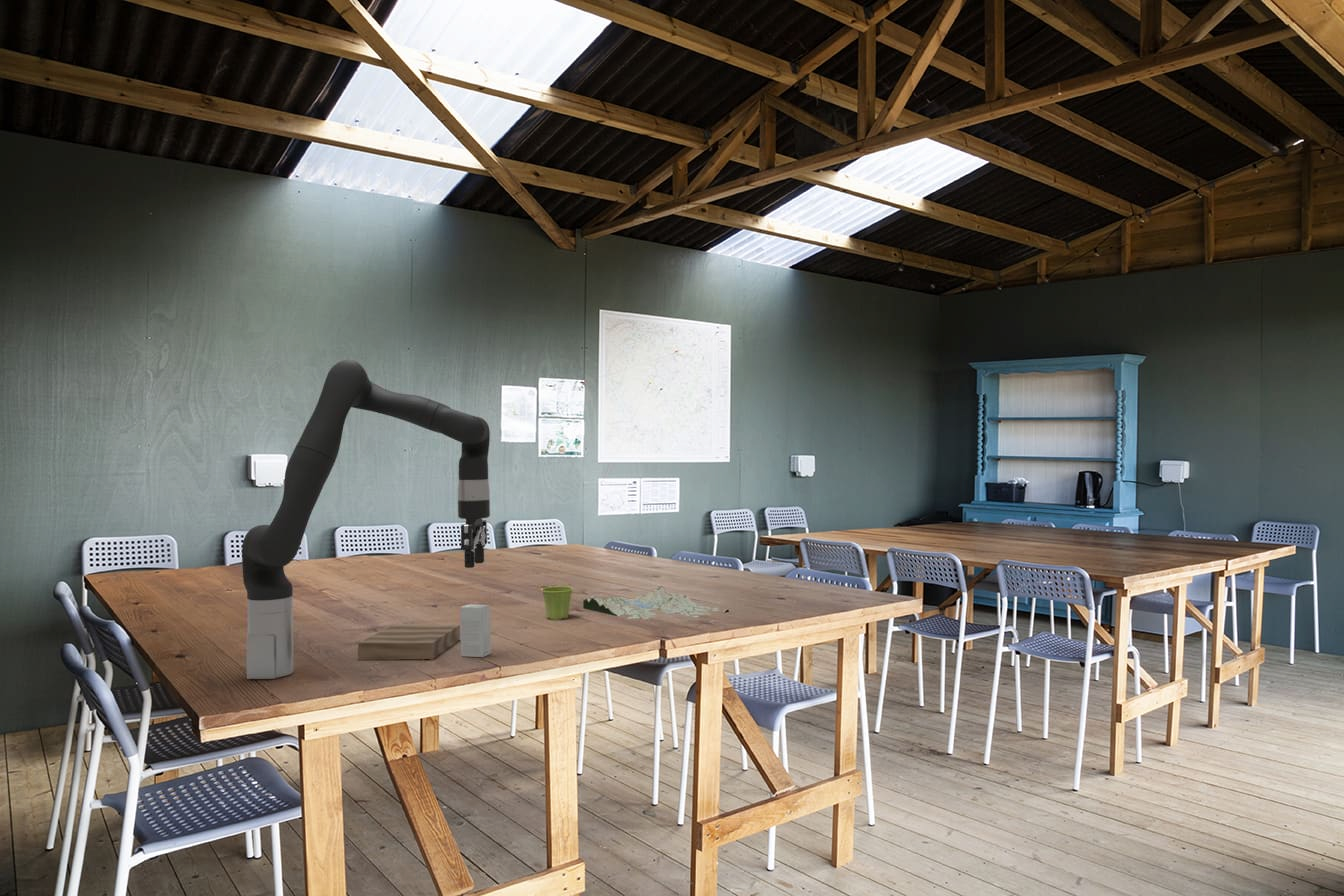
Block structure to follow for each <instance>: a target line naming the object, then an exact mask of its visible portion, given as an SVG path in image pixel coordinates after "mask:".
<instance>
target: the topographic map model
mask: <svg viewBox="0 0 1344 896" xmlns="http://www.w3.org/2000/svg"><path fill="white" fill-rule="evenodd" d="M582 602H583V604H582V606H583V607H582V608H583V609H585V610H587V611H588V610H589V611H592V612H593V611H594V612H597V613H602V614H606V615H610V616H615V617H620V616H621V615H629V616H626V619H627V620H628V619H642V620H643V621H644V620H652V619H655V618H657V616H656V613H655V611H657V613H658V612H662V613H666V614H675V613H679V614H680V615H683V616H687V617H691V618H692V617H693V618H700V617H701V616H700V615H702V616H704V615H708V616H709V615H712V614H710V613H708V612H709V611H712V612H713V611H714V612H719V611H721V609H720V608H719V607H714V608H713V607H710V606H709V605H708V606H705V605H701V604H698V603H697V602H694V601H692V600H691V598H690V596H688V595H686V594H682V595H679V594H678V592H676V591H675V592H674V593H673V594H672V595H670V594H668V593H667V591H666V589H665V588H662V587H661V585H658V586H657V587H656V588H655V589H654V591H652V590H651V591H650V593H648V594H647V595H645V594H640V595H637V596H636V597H635V598H628V597H623V596H615V595H612V596H611V597H610V596H609V597H608V598H607V599H603V598H601V597H598V596H595V595H591V596H587V597H584V598H583V601H582ZM659 609H660V611H659ZM729 611H730V610H729V609H728V608H726V609H725V610H723V611H722V613H723V614H724V613H730V612H729Z"/></svg>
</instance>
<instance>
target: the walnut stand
mask: <svg viewBox="0 0 1344 896" xmlns="http://www.w3.org/2000/svg"><path fill="white" fill-rule="evenodd" d="M458 640H460V641H461V624H392V625H390V626H387V627H386V628H384V629H382V630H381V631H378V632H376V633H375V634H372V635H370V636H369V637H367V638H365V639H363V640H361V641H360V642H358V643H357V659H358V660H357V661H390V660H391V661H401V660H400V659H423V660H422V661H425V660H424V659H430V660H429V661H433V660H435V659H436V658H437V657H439V656H440V655H441V654H442V652H443V651H444V650H446V649H447V648H448V649H450V648H451V647H453V646H454V645H455V644H457V643H458V642H459V641H458ZM457 641H458V642H457ZM456 642H457V643H456ZM454 643H455V644H454ZM453 644H454V645H453ZM452 645H453V646H452ZM450 646H451V647H450ZM449 647H450V648H449ZM448 649H447V650H448ZM447 650H446V651H447ZM444 652H445V651H444ZM444 652H443V653H444ZM440 653H441V654H440ZM439 654H440V655H439ZM438 655H439V656H438ZM435 657H436V658H435ZM434 658H435V659H434ZM395 659H396V660H395ZM398 659H399V660H398Z"/></svg>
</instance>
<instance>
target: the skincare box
mask: <svg viewBox="0 0 1344 896" xmlns="http://www.w3.org/2000/svg"><path fill="white" fill-rule="evenodd" d="M459 613H460V656H461V657H470V658H484V657H486V656H490V655H491V654H492V653H491V651H492V650H491V648H492V647H491V646H492V645H491V643H492V642H491V605H490V604H473V603H472V604H470V603H469V604H465V605H463V606H460V608H459Z"/></svg>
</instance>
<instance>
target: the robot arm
mask: <svg viewBox="0 0 1344 896" xmlns="http://www.w3.org/2000/svg"><path fill="white" fill-rule="evenodd" d="M351 408H353V409H357V410H362V411H363V410H364V411H369V412H372V413H373V412H374V413H378V414H381V415H385V416H389V417H392V418H395V419H399V420H402V421H405V422H407V423H410V424H413V425H414V426H418V427H421V428H423V429H426V430H429V431H432V432H435V433H438V434H441V435H444V436H446V437H448V438H449V439H453V440H455V441H457V442H459V443H461V456H460V458H459V460H458V485H457V517H458V518H459V519H461V520H463V519H465V524H461V525H460V550H462V551H463V552H464V567H465V569H466V568H467V569H469V568H470V569H472V568H474V567H475V565H476V564H483V563H485V547H486V545H487V544H488V530H487V527H488V526H487V524H488V522H487V520H483V519H488V518H490V516H491V507H490V506H491V505H490V504H491V502H490V500H491V498H490V496H491V495H490V494H491V493H490V483H489V462H488V459H489V458H488V457H489V450H490V441H491V440H490V439H491V437H490V436H491V433H490V426H489V424H488V422H487V421H486V420H485V419H484V418H482V417H480V416H475V415H471V414H468V413H466V412H462V411H460V410H457V409H453V408H451V407H450V406H449V405H446V404H444V403H441V402H439V401H436V400H433V399H430V398H427V397H424V396H420V395H416V394H407V393H400V392H396V391H392V390H391V391H390V390H388V389H386V388H383V387H381V386H379V385H378V384H376V383H374V382H373V381H371V380H370V379H369V376H368V373H367V371H366V369H365V368H364V367H363V365H361V364H360V363H359V362H358V361H356V360H352V359H345V360H340V361H338V362H336V363H335V364H334V365H333V366H332V367H331V368H330V369H329V371H328V372H327V375H326V377H325V380H324V384H323V386H322V389H321V392H320V395H319V397H318V401H317V403H316V406H315V408H314V410H313V413H312V414H311V415H310V418H309V420H308V422H307V424H306V425H305V427H304V429H303V432H302V433H301V435H300V438H299V440H298V442H297V443H296V445H295V447H294V449H293V451H292V454H291V455H290V458H289V460H288V462H287V464H286V466H285V467H286V468H285V471H284V472H285V473H284V479H283V481H284V482H283V494H282V498H281V504H280V505H279V507H278V510H277V512H276V513H275V516H274V517H273V519H272V521H271V522H270V524H261V525H257V526H254V527H252V528H250V530H249V531H247V532H246V534H245V536H244V538H243V541H242V547H241V562H242V579H243V580H242V581H243V584H244V585H243V586H244V587H245V588H244V589H245V590H246V597H247V598H246V599H247V601H246V602H247V604H246V605H247V611H246V612H247V615H246V617H247V619H246V620H247V635H246V637H245V638H246V645H245V646H246V680H275V679H277V678H282V677H285V676H289V675H292V674H293V673H294V628H293V627H294V618H293V617H294V613H293V610H294V609H293V607H294V606H293V603H294V602H293V599H294V598H293V597H294V596H293V595H294V593H293V591H294V590H293V588H294V587H293V585H292V582H291V581H290V580H289V579H288V578H287V575H286V573H285V569H284V568H285V566H287V565H288V564H290V563H291V562H292V561H293V560H294V559H295V557H296V556H297V554H298V552H299V549H300V548H301V547H300V546H301V544H302V542H303V541H302V540H303V537H304V534H305V532H306V529H307V526H308V523H309V520H310V517H311V515H312V512H313V511H314V508H315V506H316V504H317V501H318V500H319V498H320V494H321V493H322V490H323V488H324V485H325V484H326V481H328V478H329V476H330V474H331V472H332V470H333V467H334V465H335V463H336V460H337V458H338V455H339V453H340V452H339V451H340V449H341V443H342V438H343V431H344V427H345V422H346V419H347V416H348V415H349V412H350V410H351Z"/></svg>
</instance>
